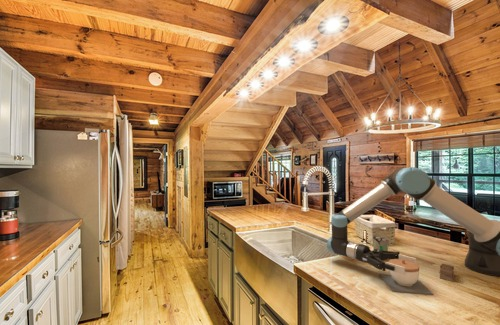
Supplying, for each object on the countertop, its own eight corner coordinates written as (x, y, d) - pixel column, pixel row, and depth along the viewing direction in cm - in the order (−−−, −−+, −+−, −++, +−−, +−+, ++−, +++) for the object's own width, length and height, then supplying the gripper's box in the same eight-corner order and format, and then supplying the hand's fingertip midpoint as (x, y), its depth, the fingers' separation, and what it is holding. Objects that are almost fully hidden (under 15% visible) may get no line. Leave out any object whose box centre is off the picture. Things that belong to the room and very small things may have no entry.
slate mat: (414, 277, 102) (414, 276, 102) (433, 295, 88) (433, 293, 88) (379, 275, 105) (379, 274, 105) (392, 291, 91) (392, 290, 91)
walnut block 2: (442, 276, 104) (442, 267, 104) (454, 279, 101) (453, 270, 101) (440, 278, 101) (439, 269, 101) (452, 282, 98) (451, 272, 98)
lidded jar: (426, 286, 94) (425, 262, 94) (407, 291, 90) (407, 266, 90) (400, 274, 104) (399, 253, 104) (382, 279, 100) (382, 257, 100)
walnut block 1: (442, 272, 108) (442, 263, 108) (453, 275, 105) (453, 266, 105) (440, 274, 105) (440, 265, 105) (452, 277, 102) (451, 268, 102)
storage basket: (397, 246, 143) (397, 222, 144) (371, 246, 143) (371, 222, 143) (375, 235, 167) (375, 214, 167) (353, 235, 167) (352, 214, 167)
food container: (393, 262, 119) (393, 242, 119) (380, 261, 120) (380, 241, 120) (384, 253, 131) (384, 235, 131) (372, 252, 132) (372, 235, 132)
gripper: (370, 253, 119) (420, 267, 102) (345, 267, 103) (399, 285, 87) (370, 238, 119) (420, 249, 103) (345, 250, 103) (399, 265, 87)
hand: (410, 266), depth 95 cm, fingers open, 13 cm apart
